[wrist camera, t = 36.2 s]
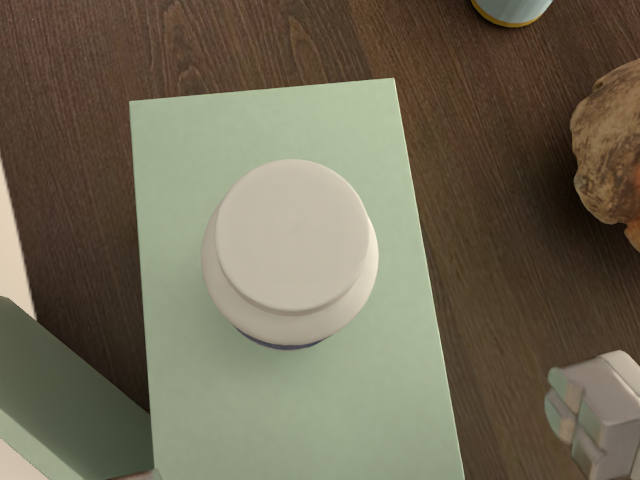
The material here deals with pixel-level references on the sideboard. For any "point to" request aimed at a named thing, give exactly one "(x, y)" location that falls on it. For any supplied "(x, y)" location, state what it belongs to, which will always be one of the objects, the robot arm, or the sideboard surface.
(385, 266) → the mini fridge
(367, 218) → the pill bottle
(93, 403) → the fridge door
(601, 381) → the robot arm
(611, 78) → the tan rounded lump
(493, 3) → the bottle
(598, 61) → the sideboard surface
